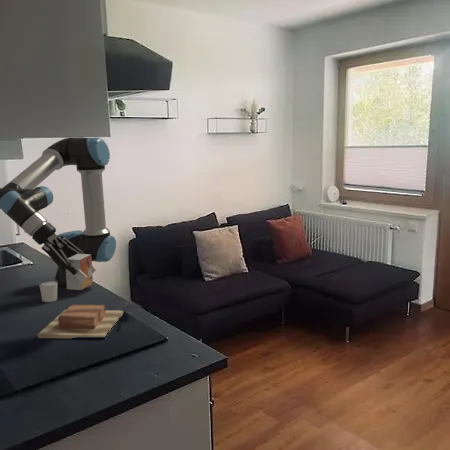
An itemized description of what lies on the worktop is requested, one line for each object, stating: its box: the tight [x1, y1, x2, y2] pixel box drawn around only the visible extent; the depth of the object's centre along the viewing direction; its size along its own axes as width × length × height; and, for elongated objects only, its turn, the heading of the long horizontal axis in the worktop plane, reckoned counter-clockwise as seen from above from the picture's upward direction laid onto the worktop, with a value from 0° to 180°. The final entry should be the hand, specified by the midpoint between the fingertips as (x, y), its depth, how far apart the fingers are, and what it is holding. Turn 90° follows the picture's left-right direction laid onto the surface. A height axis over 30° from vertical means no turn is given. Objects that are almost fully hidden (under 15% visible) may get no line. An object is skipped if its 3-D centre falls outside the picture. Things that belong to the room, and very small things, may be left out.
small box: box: [66, 254, 94, 291], centre depth 153 cm, size 8×6×10 cm
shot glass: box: [39, 280, 58, 303], centre depth 182 cm, size 7×7×7 cm
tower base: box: [37, 304, 124, 339], centre depth 156 cm, size 22×22×5 cm
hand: (89, 275), depth 153 cm, fingers closed on small box, 9 cm apart
